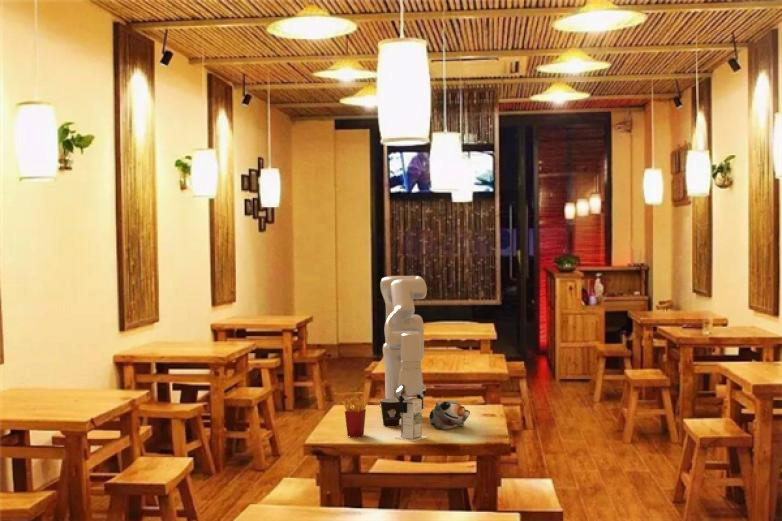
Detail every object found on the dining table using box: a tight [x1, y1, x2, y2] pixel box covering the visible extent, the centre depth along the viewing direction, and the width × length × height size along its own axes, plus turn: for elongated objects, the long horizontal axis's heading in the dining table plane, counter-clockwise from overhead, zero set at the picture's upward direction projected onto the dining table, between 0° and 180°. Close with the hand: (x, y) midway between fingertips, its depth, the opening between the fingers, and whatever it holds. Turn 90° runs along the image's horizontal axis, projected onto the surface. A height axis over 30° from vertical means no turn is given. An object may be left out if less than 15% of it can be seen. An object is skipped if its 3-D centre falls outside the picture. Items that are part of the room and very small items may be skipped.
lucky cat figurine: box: [428, 400, 471, 431], centre depth 354 cm, size 15×12×14 cm
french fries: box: [342, 395, 367, 438], centre depth 343 cm, size 9×8×15 cm
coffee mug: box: [380, 398, 401, 427], centre depth 360 cm, size 12×9×10 cm
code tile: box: [395, 435, 428, 442], centre depth 339 cm, size 9×9×1 cm
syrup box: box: [400, 397, 423, 439], centre depth 338 cm, size 6×6×14 cm
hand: (411, 410), depth 338 cm, fingers open, 9 cm apart
